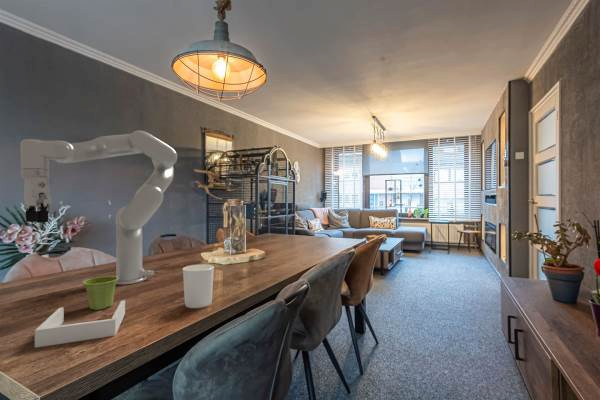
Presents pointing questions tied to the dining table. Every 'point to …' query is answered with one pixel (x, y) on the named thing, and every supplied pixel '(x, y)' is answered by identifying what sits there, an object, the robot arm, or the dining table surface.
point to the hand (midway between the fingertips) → (37, 222)
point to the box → (76, 328)
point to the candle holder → (198, 285)
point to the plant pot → (100, 291)
